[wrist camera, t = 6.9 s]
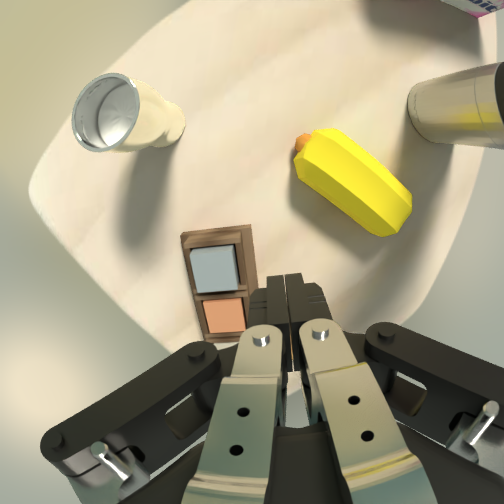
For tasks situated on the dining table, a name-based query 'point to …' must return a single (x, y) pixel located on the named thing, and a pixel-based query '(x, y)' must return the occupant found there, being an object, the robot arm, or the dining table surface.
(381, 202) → the ripe banana
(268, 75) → the dining table surface
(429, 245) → the dining table surface
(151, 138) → the beer glass
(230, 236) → the button board
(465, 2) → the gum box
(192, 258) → the slate button
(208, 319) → the terracotta button
